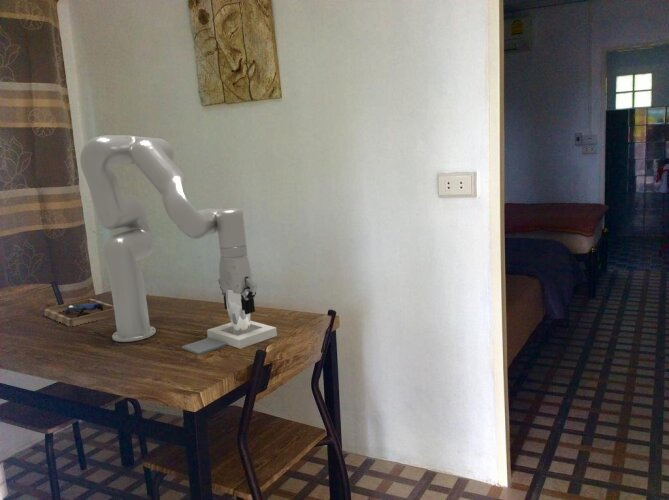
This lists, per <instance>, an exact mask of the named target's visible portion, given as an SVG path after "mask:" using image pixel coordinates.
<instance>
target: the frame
mask: <svg viewBox="0 0 669 500" xmlns="http://www.w3.org/2000/svg"><path fill="white" fill-rule="evenodd" d="M87 303H89V304H94V303H101V305H102V308H103V311H101V310H100V311H97V312H93V313H90V314H85V315H80V317H77V316H76V317H77V318H76V317H73V318H70V317H69V316H66V315H63V314H61V313H64V312H63V311H65V308H69V306H73V307H75V305H84V304H87ZM59 312H61V313H59ZM43 315H44V317H46V316H47V317H46V318H48V317H49V318H48V319H50V318H51V320H53V321H55V320H56V321H55V322H57V321H58V322H57V323H59V322H61V323H60V324H62V323H63V324H62V325H64V324H65V325H64V326H66V325H67V327H69V326H70V327H69V328H73V327H72V326H74V327H77V326H76V325H78V326H81V325H80V324H82V325H85V324H84V323H86V324H89V323H93V322H96V320H97V321H100V320H104V319H108V318H111V317H115V313H114V306H113V304H109V303H107V302H103V301H100V300H97V299H93V298H90V297H89V298H85V299H81V300H77V301H73V302H72V301H71V302H69V303H64V304H60V305H59V304H58V305H55V306H51V307H45V308H43ZM92 321H93V322H92ZM88 322H89V323H88Z"/></svg>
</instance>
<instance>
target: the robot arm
mask: <svg viewBox="0 0 669 500" xmlns="http://www.w3.org/2000/svg"><path fill="white" fill-rule="evenodd" d="M174 155H175V153H174V148H173V147H172V145H171V144H170V143H169V142H168V141H167V140H165V139H163V138H160V137H159V138H158V137H147V136H146V137H145V136H136V135H128V134H127V135H126V134H125V135H124V134H117V135H116V134H108V135H107V134H106V135H100V136H96V137H93V138H91V139H90V140H89V141H87V142H86V143H85V144H84V146H83V148H82V150H81V153H80V156H79V157H80V159H79V160H80V161H79V162H80V168H81V170H82V173H83V176H84V179H85V182H86V184H87V186H88V190H89V193H90V194H89V195H90V197H91V200H92V201H91V202H92V204H93V207H94V211H95V214H96V217H97V220H98V222H99V224H100V226H101V227H102V228H104V229H105V230H117V229H121V231H122V232H119V233H116V234H113V235H111V236H109V237H108V238H107V239H106V240H105V241H104V242H103V245H102V251H101V252H102V258H103V261H104V263H105V266H106V269H107V272H108V273H107V274H108V279H109V284H110V291H111V297H112V305H113V306H114V313H115V316H114V319H115V325H116V326H115V327H116V331H114V333H112V334H111V339H112V340H113V341H115V342H118V343H127V342H128V343H129V342H136V341H142V340H144V339H148V338H150V337H152V336H154V335H155V334H156V327H154V326H151V325H150V324H151V323H150V319H149V317H150V315H149V310H148V303H147V294H146V287H145V286H146V285H145V281H144V276H143V272H142V269H141V267H140V265H139V263H138V261H141V260H143V259H146V258H147V257H149V256H150V255H151V254H152V253H153V251H154V249H155V240H154V236H153V233H152V232H153V231H152V229H151V225H150V221H149V218H148V215H147V211H146V208H145V205H144V204H143V202H142V201H141V200H140V199H139V198H138V197H137V196H135V195H134V194H133V195H132V194H123V191H122V189H121V185H120V181H119V179H118V177H117V175H116V174H115V173H114V171H113V170H112V169H111V167H112V166H117V165H125V164H127V165H130V164H131V165H135V166H136V167H137V168H138V170H139V171H140V172H141V173H142V174H143V175H144V176H145V178H146V179H147V180H148V181H149V182H150V183H151V184H152V186H153V187H154V188H155V189H156V190H157V191H158V192H159V194H160V196H161V201H162V204H163V207H164V209H165V212H166V214H167V215H168V217H169V219H170V220H171V221H172V222H173V224H175V226H176V227H177V228H178V229H179V230H180V231H181V232H182V233H183V234H184V235H185V236H187V237H188V238H190V239H193V240H199V239H203V238H205V237H208V236H211V235H214V234H217V236H218V237H217V238H218V245H219V246H218V247H219V256H220V257H219V263H218V264H219V265H218V266H219V269H218V270H219V278H218V280H217V281H218V284H219V288H220V290H221V294H222V296H223V303H224V309H225V310H227V304H226V289H230V290H233V293H235V294H240V293H241V294H242V295H243V297H244V299H245V300H244V311H245V314H250V313H251V314H253V313H254V312H256V307H255V298H256V295H257V289H258V286H257V284H256V283H255V282H254V281H253V278H252V270H251V266H250V262H249V258H248V250H247V249H248V247H247V241H246V240H247V239H246V237H247V236H246V227H245V221H244V219H245V218H244V213H243V210H242V209H241V208H238V207H231V208H230V207H228V208H213V207H211V208H210V207H208V208H204V209H203V208H202V209H200V210H199V209H198V210H197V208H195V206H193V204H192V203H191V202H190V200H189V199H188V198H187V197H186V194H185V192H184V184H185V181H186V177H185V174H184V173H183V172H182V170H181V169H180V168H179V167H178V166H177V165H176V164H175V163H174V161H173V159H174V157H175V156H174ZM244 288H247V289H244ZM246 292H248V295H247V294H246ZM251 314H250V315H251Z"/></svg>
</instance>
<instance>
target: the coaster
mask: <svg viewBox="0 0 669 500" xmlns="http://www.w3.org/2000/svg"><path fill="white" fill-rule="evenodd" d="M227 346H228V345H227V343H224V342H221V341H218V340H215V339H212V338H208V337H207V338H204V339H201V340H198V341H195V342H191V343H188V344H185V345H182V346H181V349H182V350H185V351H188V352H191V353H193V354H196V355H199V356H200V355H203V354H206V353H208V352H212V351H215V350H218V349H221V348H224V347H227Z"/></svg>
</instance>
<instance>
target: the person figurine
mask: <svg viewBox="0 0 669 500" xmlns="http://www.w3.org/2000/svg"><path fill="white" fill-rule="evenodd" d="M69 310H70V311H75V312H76V311H77V312H78V311H79V312H78V315H77V316H76V317H75V318H77V317H81V316H82V314H83V312H84V311H90V312H92V311H94V310H100V312H101V311H104V310H103V308H102V305H101V303H94V304H89V303H87V304H84V305H75V307H73V306H69V308H65V311H66V312H65V314H66V315H69V314H70V311H69Z"/></svg>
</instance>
